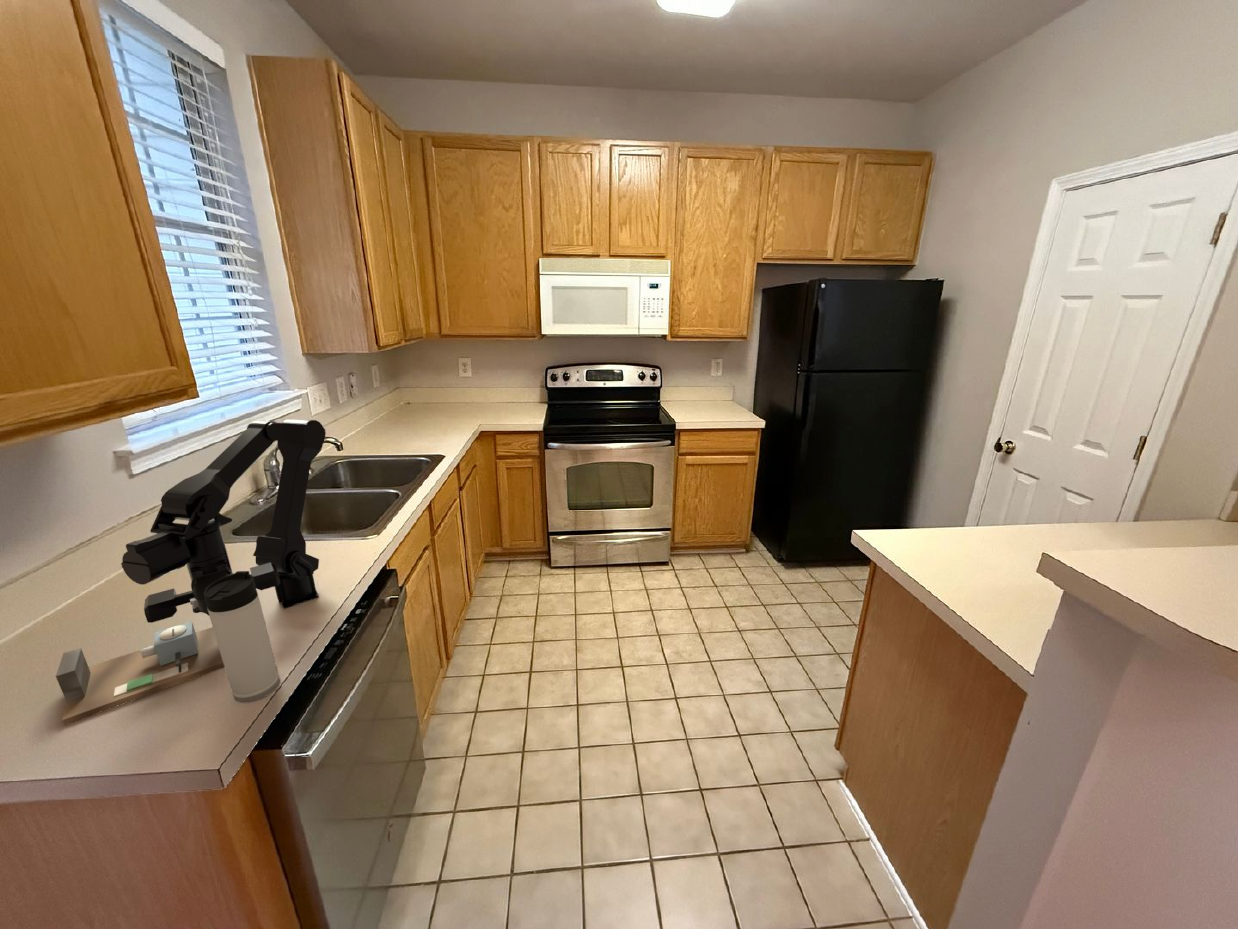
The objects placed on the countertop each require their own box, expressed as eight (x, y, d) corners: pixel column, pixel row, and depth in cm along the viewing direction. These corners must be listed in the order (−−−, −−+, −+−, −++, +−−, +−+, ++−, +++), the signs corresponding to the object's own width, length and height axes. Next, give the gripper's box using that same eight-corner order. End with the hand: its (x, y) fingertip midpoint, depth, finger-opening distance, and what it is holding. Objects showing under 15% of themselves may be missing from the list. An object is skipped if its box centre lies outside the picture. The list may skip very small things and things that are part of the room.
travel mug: (289, 673, 84) (264, 569, 78) (264, 703, 78) (234, 592, 72) (252, 674, 84) (223, 570, 78) (224, 704, 77) (190, 593, 71)
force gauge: (197, 639, 91) (191, 619, 89) (199, 664, 84) (192, 642, 83) (146, 656, 86) (138, 635, 85) (143, 683, 80) (135, 661, 79)
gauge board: (237, 623, 97) (230, 597, 96) (244, 660, 87) (236, 631, 85) (77, 675, 84) (65, 645, 82) (64, 725, 74) (50, 692, 72)
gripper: (130, 592, 75) (159, 676, 80) (275, 554, 87) (293, 630, 91) (134, 565, 83) (160, 643, 88) (267, 534, 95) (284, 604, 99)
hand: (227, 630), depth 91 cm, fingers closed
